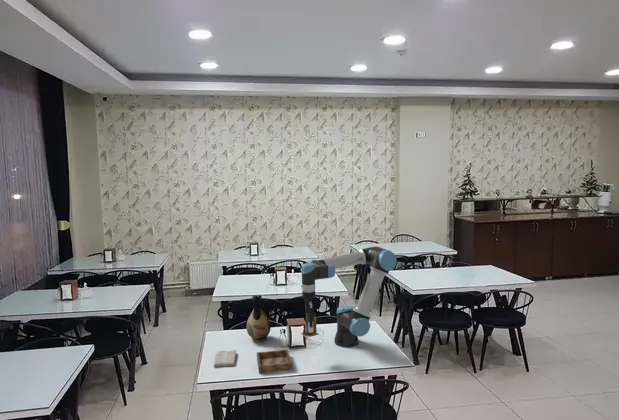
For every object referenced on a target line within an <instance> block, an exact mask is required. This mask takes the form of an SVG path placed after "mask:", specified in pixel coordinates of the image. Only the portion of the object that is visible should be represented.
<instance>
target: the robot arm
mask: <svg viewBox="0 0 619 420" xmlns="http://www.w3.org/2000/svg"><path fill="white" fill-rule="evenodd" d="M397 259H398V258H397V256H396V254H395V253H394V251H391V250H389V249H386V248H383V247H380V246H370V247H366V248H365V247H364V248H361V249H359V250H357V251H355V252H350V253H345V254H342V255H337V256H332V257H328V258H323V259H311V260H309V261H308V262H305V263H303V264H302V265H301V290H302V292H301V296H302V298H303V299H304V309H305V310H304V315H306V314H307V313H308V319H309V320H308V321H307V322H308V332H309V333H311V332H313V321H314V313H315V312H314V306H315V305H314V301H313V299H315V298H316V281H317V280H318V281H319V280H325V279H326V280H327V279H332V278H334V277H335V275H336V270H338V269H343V268H346V267H352V266H356V265H360V264H361V265H369V268H370V273H369V274H368V278H367V280H366V281H365V285H364V287H363V289H362V292H361V294H360V296H359V299H358V301H357V304H356V306H354V305H341V306H338V307H337V309H336V332H335V333H336V334H335V336H334V341H333V342H334V344H335V345H337V346H338V347H342V348H350V347H351V348H353V347H356V346H357V345H359V342H360V341H359V337H363V336H365V335H367V334H368V332H369V331H370V329H371V324H370V319H371V314H370V312H371V310H372V308H373V305H374V302H375V300H376V298H377V295H378V293H379V290H380V288H381V286H382V283H383V280H384V279H385V278H384V277H386V276H387V275H389V273H390V271H393V270H394V269H395V267H396V265H397V263H398V262H397V261H398V260H397Z"/></svg>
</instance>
